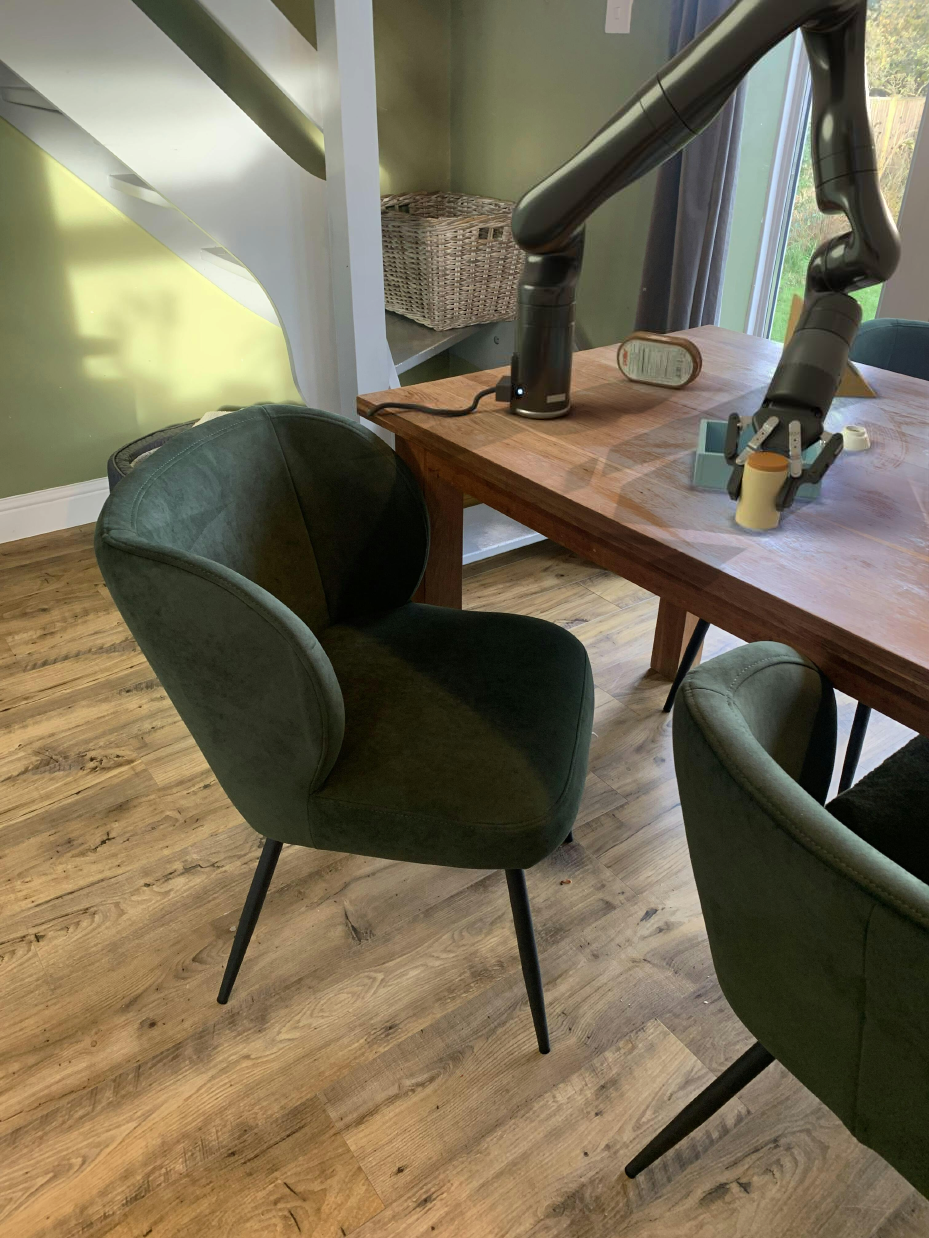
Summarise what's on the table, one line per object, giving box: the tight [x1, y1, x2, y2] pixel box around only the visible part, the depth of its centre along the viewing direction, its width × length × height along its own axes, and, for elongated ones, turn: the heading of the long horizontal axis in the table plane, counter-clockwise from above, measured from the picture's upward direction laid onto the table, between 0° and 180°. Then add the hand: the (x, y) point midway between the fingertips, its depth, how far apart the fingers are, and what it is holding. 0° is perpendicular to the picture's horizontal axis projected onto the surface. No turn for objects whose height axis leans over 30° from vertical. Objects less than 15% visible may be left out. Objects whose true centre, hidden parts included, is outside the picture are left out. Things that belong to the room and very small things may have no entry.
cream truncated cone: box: [839, 424, 871, 452], centre depth 127 cm, size 5×3×5 cm
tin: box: [616, 330, 703, 390], centre depth 152 cm, size 15×3×8 cm, turn 58°
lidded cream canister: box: [734, 452, 790, 531], centre depth 104 cm, size 5×5×8 cm
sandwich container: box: [781, 292, 878, 399], centre depth 148 cm, size 9×15×15 cm, turn 82°
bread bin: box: [692, 418, 824, 499], centre depth 118 cm, size 16×14×5 cm
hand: (756, 503), depth 103 cm, fingers closed on lidded cream canister, 5 cm apart
